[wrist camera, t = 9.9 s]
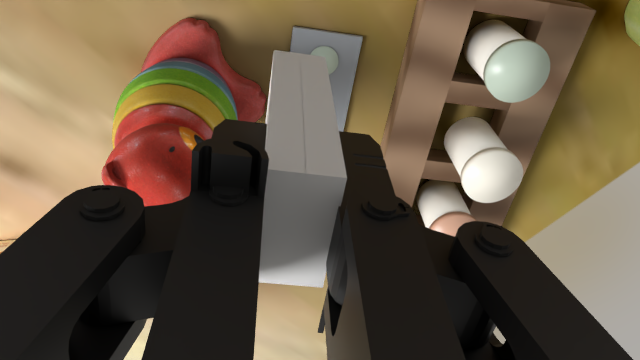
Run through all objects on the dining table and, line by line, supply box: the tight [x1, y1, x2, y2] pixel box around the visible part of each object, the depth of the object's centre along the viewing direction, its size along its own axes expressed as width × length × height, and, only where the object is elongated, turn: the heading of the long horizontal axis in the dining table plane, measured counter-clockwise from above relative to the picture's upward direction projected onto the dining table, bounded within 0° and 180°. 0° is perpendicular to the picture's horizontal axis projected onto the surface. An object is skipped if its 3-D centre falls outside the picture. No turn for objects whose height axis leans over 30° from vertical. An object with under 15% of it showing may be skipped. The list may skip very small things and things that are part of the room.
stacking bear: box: [102, 18, 267, 206], centre depth 38 cm, size 11×10×18 cm
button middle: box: [444, 117, 523, 203], centre depth 44 cm, size 5×5×7 cm
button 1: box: [416, 180, 476, 236], centre depth 50 cm, size 5×5×7 cm
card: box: [290, 26, 363, 132], centre depth 47 cm, size 14×6×1 cm, turn 171°
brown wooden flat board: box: [380, 0, 596, 227], centre depth 48 cm, size 25×14×2 cm, turn 171°
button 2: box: [464, 20, 550, 103], centre depth 41 cm, size 5×5×7 cm
